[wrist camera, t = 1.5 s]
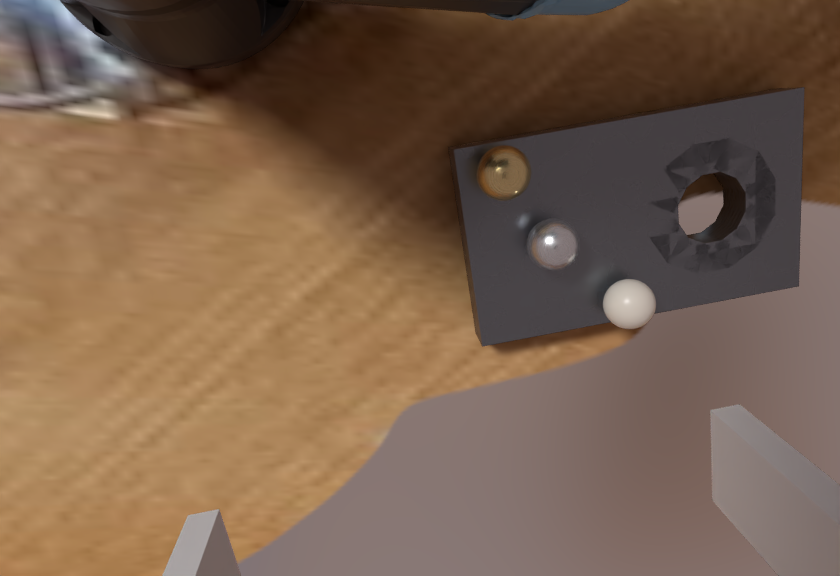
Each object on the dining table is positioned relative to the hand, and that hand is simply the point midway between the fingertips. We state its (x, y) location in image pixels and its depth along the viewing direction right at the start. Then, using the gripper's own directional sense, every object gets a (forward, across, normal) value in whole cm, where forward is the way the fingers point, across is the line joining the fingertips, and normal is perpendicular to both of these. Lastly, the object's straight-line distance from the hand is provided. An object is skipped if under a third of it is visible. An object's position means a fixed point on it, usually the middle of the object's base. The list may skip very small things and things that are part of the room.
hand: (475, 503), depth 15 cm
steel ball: (+22, +9, 0) cm, 24 cm away
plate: (+26, +15, 0) cm, 30 cm away
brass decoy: (+22, +6, +5) cm, 24 cm away
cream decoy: (+22, +13, -5) cm, 26 cm away
